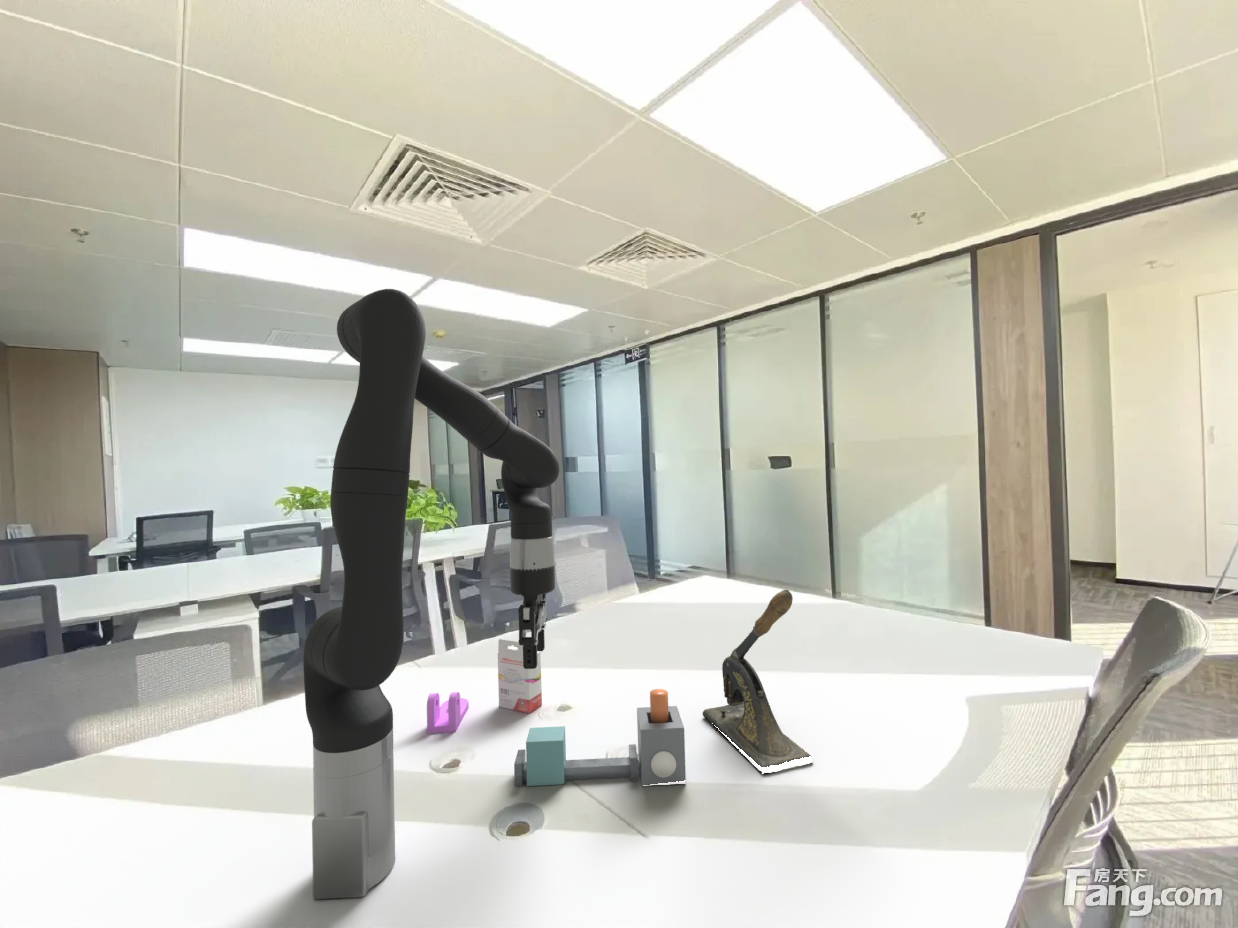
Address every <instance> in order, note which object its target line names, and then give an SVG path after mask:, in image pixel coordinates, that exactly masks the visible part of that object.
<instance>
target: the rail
mask: <svg viewBox="0 0 1238 928" xmlns="http://www.w3.org/2000/svg"><path fill="white" fill-rule="evenodd" d="M515 756H516V757H515V760H514V766H513V768H514V769H513V770H514V771H513V773H514V774H513V775H514V776H513V777H514V778H513V779H514V787H523V784H524V783H527V765H526V748H525V749H518V750H517V752H516V755H515ZM564 777H565V781H577V780H579V781H580V780H581V781H584V780H602V779H603V780H604V779H605V780H606V779H618V778H619V779H621V778H624V777H625V778H630V781H631V780H636V781H639V760H638V749H637V744H635V743H633V744H628V756H625V757H623V756H622V757H603V758H586V759H584V758H583V759H566V760H565V767H564Z"/></svg>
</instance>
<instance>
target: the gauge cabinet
mask: <svg viewBox="0 0 1238 928" xmlns="http://www.w3.org/2000/svg"><path fill="white" fill-rule="evenodd" d="M636 716H637V717H636V719H637V757H638V759H639V760H638V767H639V766H640V767H639V774H640V773H641V774H640V781H641V780H642V782H641V786H642V785H650V784H658V783H668V782H676V781H678V782H679V781H684V780H686V781H687V779H686V778H687V777H686V775H687V774H686V773H687V772H686V749H685V747H686V746H685V745H686V744H685V741H686V739H685V727H684V724H683V721H682V718H681V714H680V711H679V708H678V707H677V705H670V706H669V705H668V716H669V720H668V721H667V722H665V723H654V722H652V721H651V712H650V706H648V707H647V706H646V707H645V706H644V707H636Z"/></svg>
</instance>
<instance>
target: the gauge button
mask: <svg viewBox="0 0 1238 928" xmlns="http://www.w3.org/2000/svg"><path fill="white" fill-rule="evenodd" d="M649 705H650V706H649V707H650V712H651V721H652V722H654V723H665V722H667V721H668V720H669V716H668V706H669V692H668V691H667V689H663V688H655V689H652V690H650V691H649Z"/></svg>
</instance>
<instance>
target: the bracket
mask: <svg viewBox="0 0 1238 928" xmlns="http://www.w3.org/2000/svg"><path fill="white" fill-rule="evenodd" d="M448 696H449V697H448V700H445V701H444V702H442V704H441V705H440V703H441V702H440V694H439V693H438V692H436V693H435V692H434V693H429V695H428V696H427V700H426V733H427V734H437V733H438V734H439V733H453V732H454V733H455V732H456V733H457V731H458V729H459V727H460V725H461V723H462V721H463V719H464V717H465V716H466V714H467V712H468V710H469V708H470V707H469V700H468V699H467V698H462V697H461V694H460V692H458V691H457V692H456V691H454V692H450V694H449V695H448Z"/></svg>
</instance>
